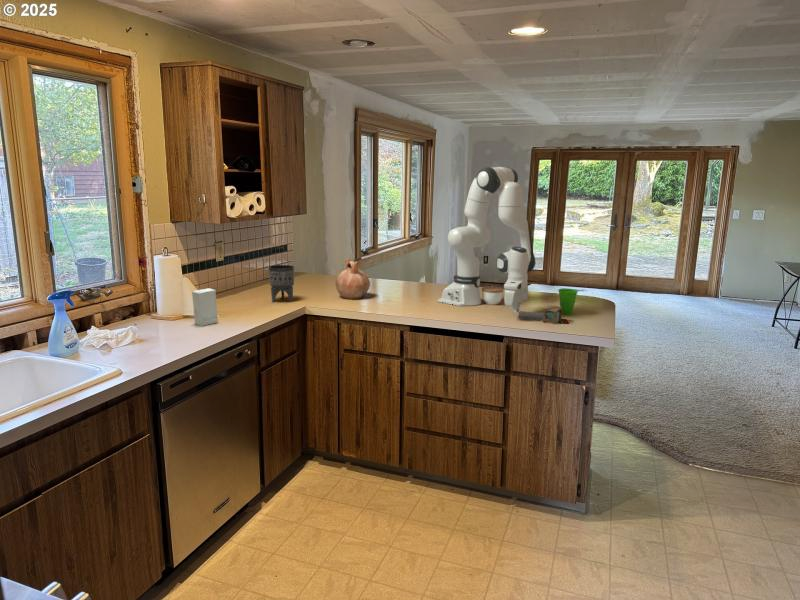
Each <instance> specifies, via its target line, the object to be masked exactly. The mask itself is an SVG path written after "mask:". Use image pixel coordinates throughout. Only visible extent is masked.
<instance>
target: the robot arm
mask: <svg viewBox="0 0 800 600" xmlns="http://www.w3.org/2000/svg"><path fill="white" fill-rule="evenodd" d="M518 182H519V175H518V173H517V171H516V170H515V169H513V168H511V167H504V166H493V167H490V166H487V167H484V168H481V169H480V170H478V172H477V175H476V177H475V178H474V179H473V180H472V182H471V184H470V187H469V190H468V194H467V197H466V202H465V204H464V205H465V206H464V210H463V212H464V216H465V217H467V225H465V226H458V227H455V228H453V229H450V231H449V232H448V234H447V241H448V242H447V243H448V245H449V246H450V247H451V248H452V249H453V251H454V253H455V256H456V261H457V264H456V265H457V266H456V269H457V270H456V271H457V272H456V273H457V274H456V275H454V276H452V280H453V282H452V283H450V284H448V285H447V286H446V287H445V288H444V289H443V290H442V294H441V297H439V298H437V302H438V303H442V302H443V303H442V304H446V305H452V304H453V306H457V307H458V306H459V307H463V306H466V307H467V306H479V305H481V304H482V300H481V293H480V284H481V276H480V265H481V263H480V259H479V258H478V257H477V256H476V255H475V250H474V248H480V247H483V246H485V245H487V244H489V242H490V240H491V232H490V229H489V228H488V225H487V216H488V210H489V206H490V203H491V198H492V194H494V193H496V194H497V196H498V207H497V209H498V210H497V212H498V213H497V214H498V218H499V221H500V222H502V224H503V225H505V226H507V227H509V228H511V229H514V230H515V231H517V233H518V234H519V239H520V240H519V241H520V246H512V247H511V248H510V249H509V250H508V251H506V252H501V253H500V254H499V255H498V256H497V257H496V264H495V265H496V268H497V270H498V271H499V272H500V273H501V274H502V273H503V274H508V275H507V280H506V282H505V283H504V284H503V290H504V294H503V296H504V298H503V299H504V306H506V307H512V313H513V314H517V313H519V311H520V308H521V303H522V302H525V301H526V300H528V298H529V287H528V279H529V278H528V276H529V275H528V274H530V273H531V272H532V271H533V270H534V269H535V266H536V257H535V253H534V249H533V239H532V232H531V224H530V221H529V219H528V218H527V217H526V216H525V213H524V208H523V207H524V198H523V197H524V196H523V189H522V186H521V184H519V183H518Z"/></svg>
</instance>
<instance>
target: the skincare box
mask: <svg viewBox="0 0 800 600" xmlns="http://www.w3.org/2000/svg"><path fill="white" fill-rule="evenodd" d="M191 293H192V294H191V295H192V304H193V305H192V306H193V307H192V308H193V317H194V319H193V320H194V324H196V325H197V326H199V327H204V326H208V325H213V324H216V323H219V320H218V307H217V306H218V305H217V294H216V293H217V292H216V289H213V288H210V287H209V288H208V287H207V288H203V289H197V290H191Z"/></svg>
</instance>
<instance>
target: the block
mask: <svg viewBox="0 0 800 600" xmlns="http://www.w3.org/2000/svg"><path fill="white" fill-rule="evenodd" d="M547 313H548V315H547V319H551V320H553V315H554V312H553V311H549V312H548V311H547ZM558 322H560V321H559V311H557V323H558Z"/></svg>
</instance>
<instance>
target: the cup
mask: <svg viewBox="0 0 800 600" xmlns="http://www.w3.org/2000/svg"><path fill="white" fill-rule="evenodd" d="M557 291H558V295H559V296H558V297H559V307H562V315H572V314H573V313H574V312H573V311H574V309H575V303H576V299H577V295H578V292H579V291H578V290H577V289H574V288H559V289H558V290H557Z"/></svg>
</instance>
